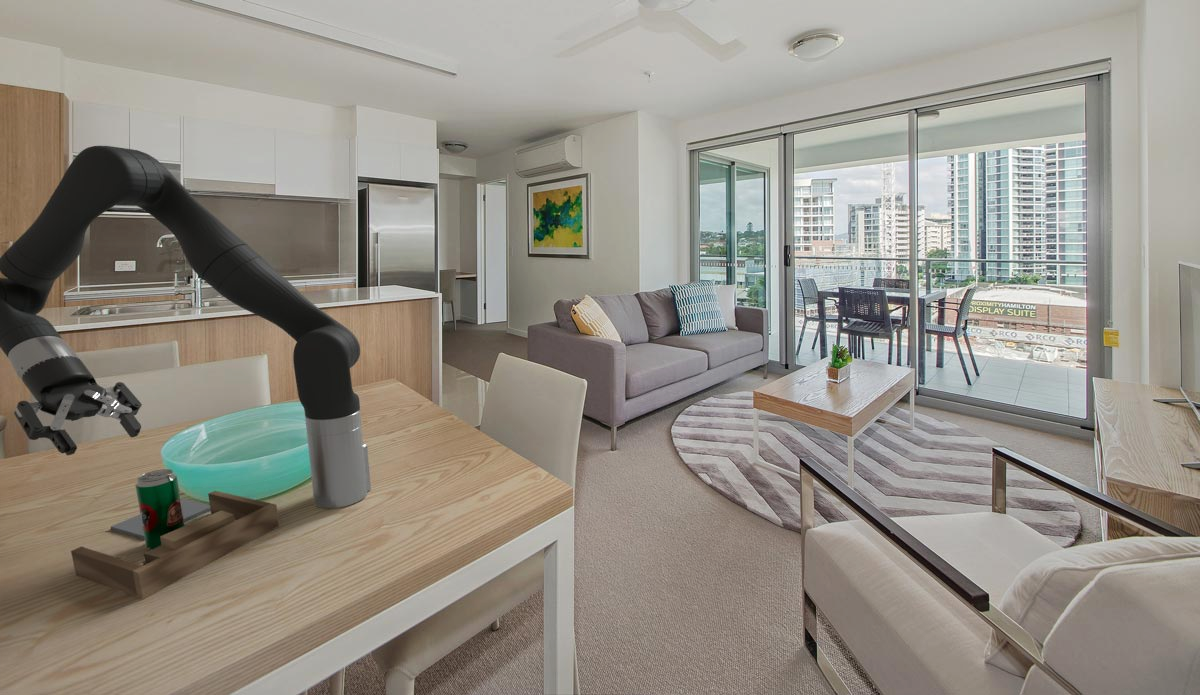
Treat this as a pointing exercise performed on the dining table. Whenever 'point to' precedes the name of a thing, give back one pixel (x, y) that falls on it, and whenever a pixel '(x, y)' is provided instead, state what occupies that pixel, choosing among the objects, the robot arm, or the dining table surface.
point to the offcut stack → (189, 534)
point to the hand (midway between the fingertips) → (106, 442)
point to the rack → (180, 550)
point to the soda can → (159, 505)
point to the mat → (135, 523)
